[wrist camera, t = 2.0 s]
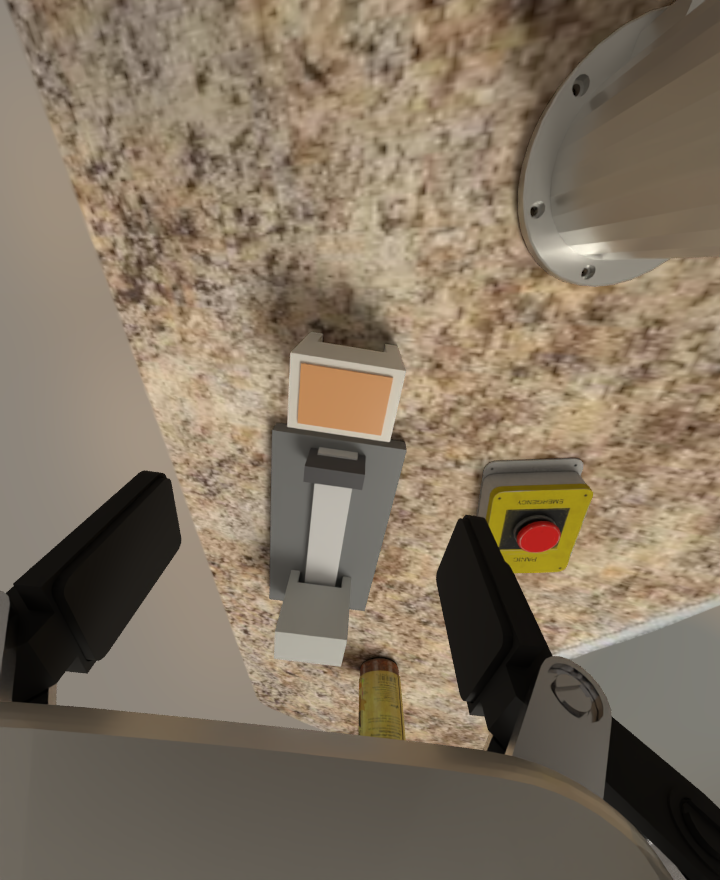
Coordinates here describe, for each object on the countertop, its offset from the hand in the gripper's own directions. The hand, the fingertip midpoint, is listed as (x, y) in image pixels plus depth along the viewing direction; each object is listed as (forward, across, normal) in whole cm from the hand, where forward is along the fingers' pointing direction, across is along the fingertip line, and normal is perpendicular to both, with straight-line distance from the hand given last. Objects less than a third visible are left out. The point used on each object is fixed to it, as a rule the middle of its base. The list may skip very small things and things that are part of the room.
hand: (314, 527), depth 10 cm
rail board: (+18, 0, +18) cm, 25 cm away
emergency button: (+19, -20, +13) cm, 30 cm away
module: (+18, 0, 0) cm, 18 cm away
